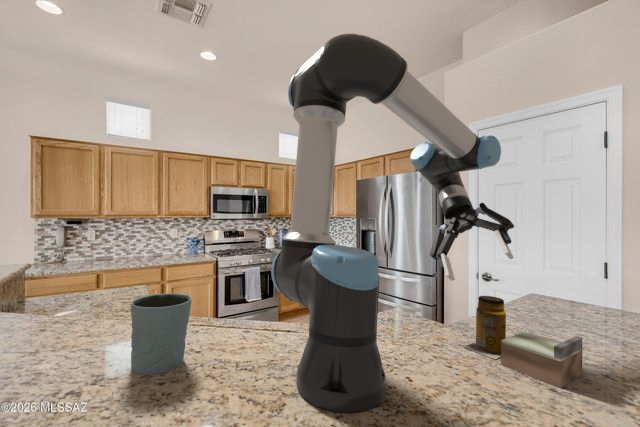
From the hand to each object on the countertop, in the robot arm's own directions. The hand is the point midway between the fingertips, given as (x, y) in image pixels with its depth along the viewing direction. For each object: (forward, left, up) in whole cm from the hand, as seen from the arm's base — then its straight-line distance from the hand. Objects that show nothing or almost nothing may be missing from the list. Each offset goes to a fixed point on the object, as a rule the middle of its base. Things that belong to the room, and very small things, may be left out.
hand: (478, 267), depth 66 cm
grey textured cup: (-61, +26, -19) cm, 70 cm away
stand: (+5, -11, -19) cm, 22 cm away
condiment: (+5, 0, -20) cm, 20 cm away
